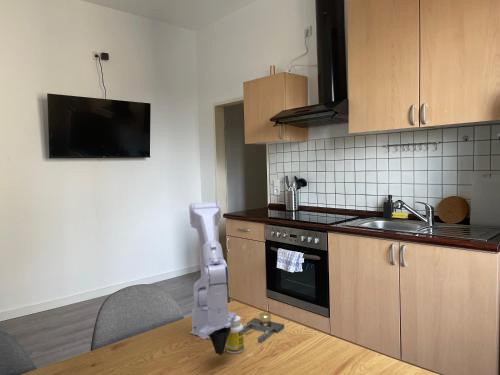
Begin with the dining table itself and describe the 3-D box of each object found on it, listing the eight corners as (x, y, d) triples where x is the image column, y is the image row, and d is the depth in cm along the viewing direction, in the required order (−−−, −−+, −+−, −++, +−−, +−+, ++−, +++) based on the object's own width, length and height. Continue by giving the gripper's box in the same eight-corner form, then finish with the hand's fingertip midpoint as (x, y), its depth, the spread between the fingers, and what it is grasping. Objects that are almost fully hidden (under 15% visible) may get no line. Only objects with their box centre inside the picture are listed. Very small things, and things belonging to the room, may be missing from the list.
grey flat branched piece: (232, 335, 121) (232, 323, 120) (254, 320, 132) (254, 309, 132) (264, 344, 114) (263, 331, 114) (284, 327, 125) (284, 315, 125)
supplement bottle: (241, 354, 108) (240, 322, 108) (224, 353, 109) (222, 321, 109) (245, 346, 113) (244, 314, 113) (228, 344, 114) (227, 314, 114)
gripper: (212, 318, 96) (214, 368, 97) (243, 300, 108) (245, 345, 109) (192, 313, 100) (194, 362, 100) (224, 296, 112) (226, 340, 113)
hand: (219, 353), depth 105 cm, fingers closed
